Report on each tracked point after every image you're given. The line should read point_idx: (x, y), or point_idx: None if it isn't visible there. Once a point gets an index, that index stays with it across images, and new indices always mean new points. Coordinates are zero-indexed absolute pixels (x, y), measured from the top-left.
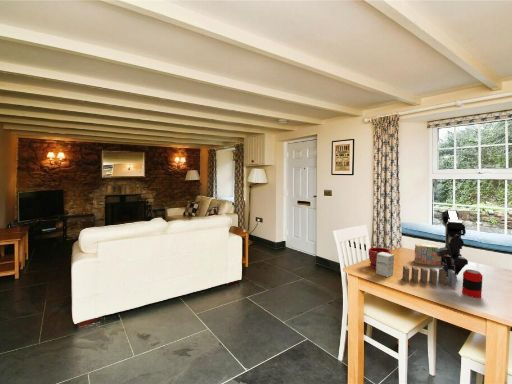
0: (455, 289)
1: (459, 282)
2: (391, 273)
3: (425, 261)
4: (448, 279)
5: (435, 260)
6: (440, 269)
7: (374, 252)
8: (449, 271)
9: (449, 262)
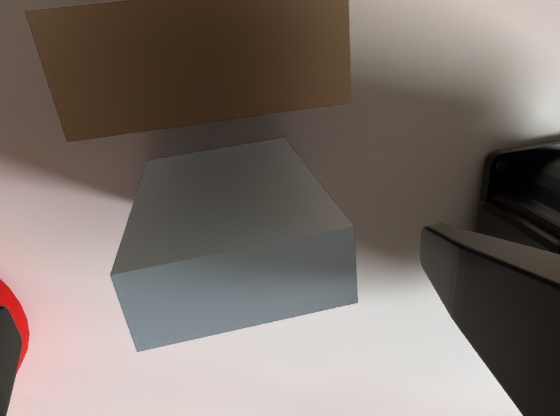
0: (5, 177)
1: None
2: None
3: None
4: (264, 158)
5: None
6: (265, 7)
7: None
8: (271, 228)
9: (556, 373)
